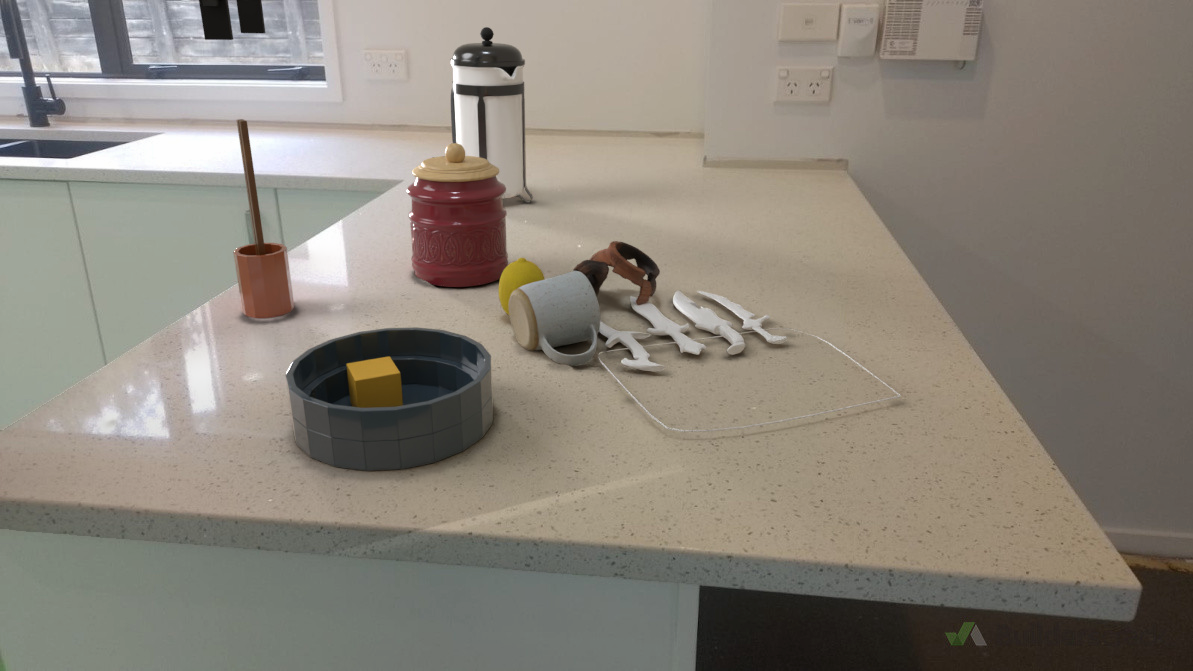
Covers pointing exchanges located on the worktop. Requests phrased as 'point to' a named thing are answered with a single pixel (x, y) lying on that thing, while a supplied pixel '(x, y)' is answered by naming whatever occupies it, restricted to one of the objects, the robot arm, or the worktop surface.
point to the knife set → (704, 321)
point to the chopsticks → (251, 186)
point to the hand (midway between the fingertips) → (237, 36)
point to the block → (374, 383)
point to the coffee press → (491, 108)
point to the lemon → (517, 279)
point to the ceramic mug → (556, 316)
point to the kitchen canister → (457, 220)
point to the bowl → (392, 434)
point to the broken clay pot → (622, 268)
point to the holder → (264, 281)
